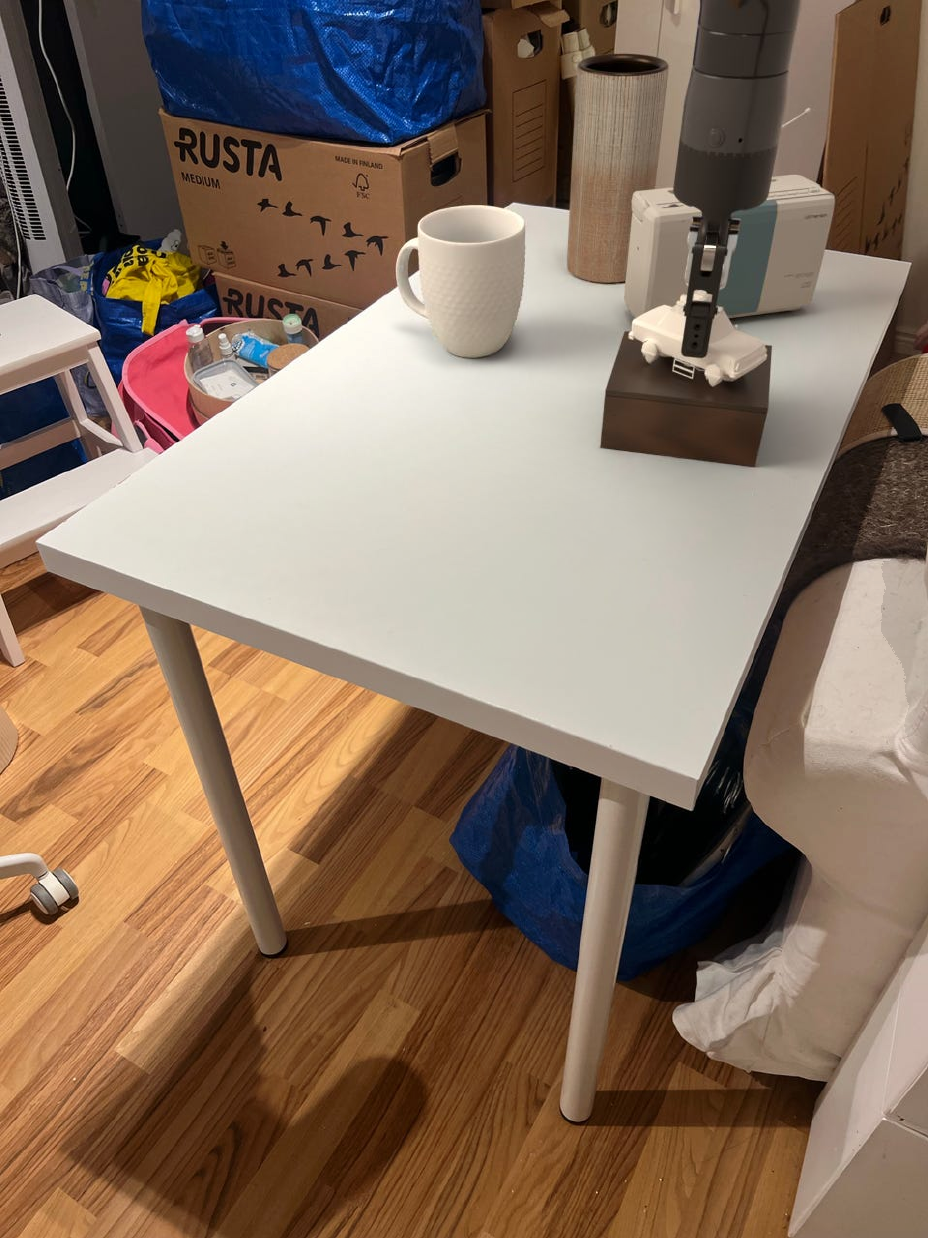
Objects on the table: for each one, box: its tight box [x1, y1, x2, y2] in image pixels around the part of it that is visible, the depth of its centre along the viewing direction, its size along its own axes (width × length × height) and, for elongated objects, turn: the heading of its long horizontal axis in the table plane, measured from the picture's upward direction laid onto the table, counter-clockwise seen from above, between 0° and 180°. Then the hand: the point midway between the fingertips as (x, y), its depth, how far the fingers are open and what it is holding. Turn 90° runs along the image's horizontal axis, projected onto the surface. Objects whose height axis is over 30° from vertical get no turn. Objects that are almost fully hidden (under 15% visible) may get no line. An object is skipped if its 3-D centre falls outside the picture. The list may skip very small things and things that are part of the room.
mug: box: [395, 204, 526, 359], centre depth 97 cm, size 15×11×13 cm
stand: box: [599, 330, 773, 468], centre depth 86 cm, size 14×12×6 cm
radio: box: [623, 107, 836, 319], centre depth 99 cm, size 21×8×20 cm, turn 103°
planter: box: [566, 53, 670, 284], centre depth 108 cm, size 10×10×23 cm
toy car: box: [629, 290, 767, 387], centre depth 81 cm, size 6×12×7 cm, turn 45°
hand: (697, 335), depth 82 cm, fingers closed on toy car, 7 cm apart
